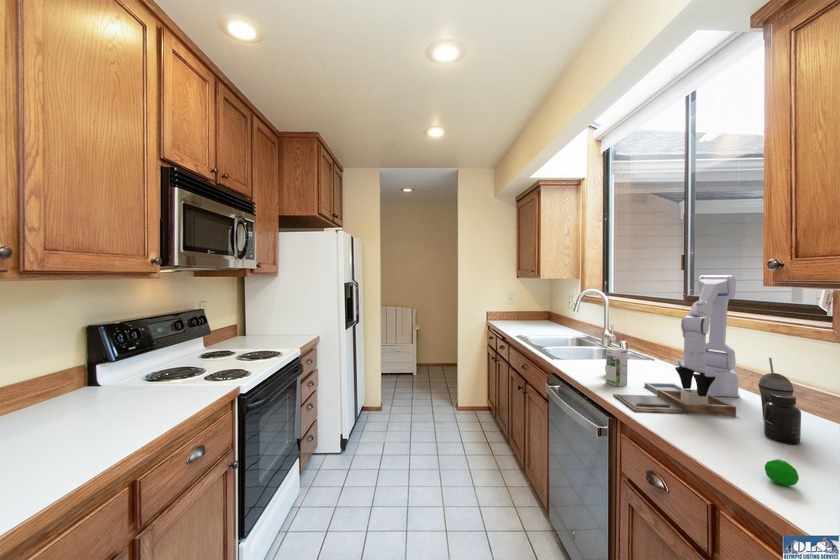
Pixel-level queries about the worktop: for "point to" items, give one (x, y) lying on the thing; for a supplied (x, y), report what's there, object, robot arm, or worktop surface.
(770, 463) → the green rounded piece
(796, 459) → the worktop surface
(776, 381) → the beverage cup
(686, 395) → the block
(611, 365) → the syrup box
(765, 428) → the supplement bottle
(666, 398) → the open case
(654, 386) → the tray
